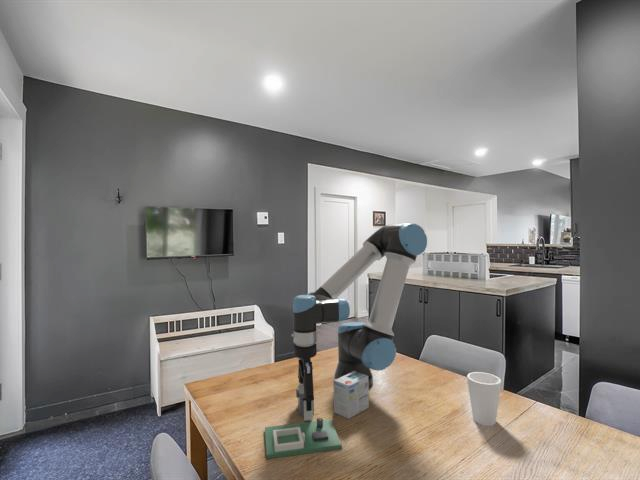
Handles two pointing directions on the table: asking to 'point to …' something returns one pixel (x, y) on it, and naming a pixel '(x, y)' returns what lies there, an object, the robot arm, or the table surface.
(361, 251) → the robot arm
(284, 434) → the board
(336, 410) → the light bulb box
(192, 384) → the table surface
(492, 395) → the foam cup
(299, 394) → the block
